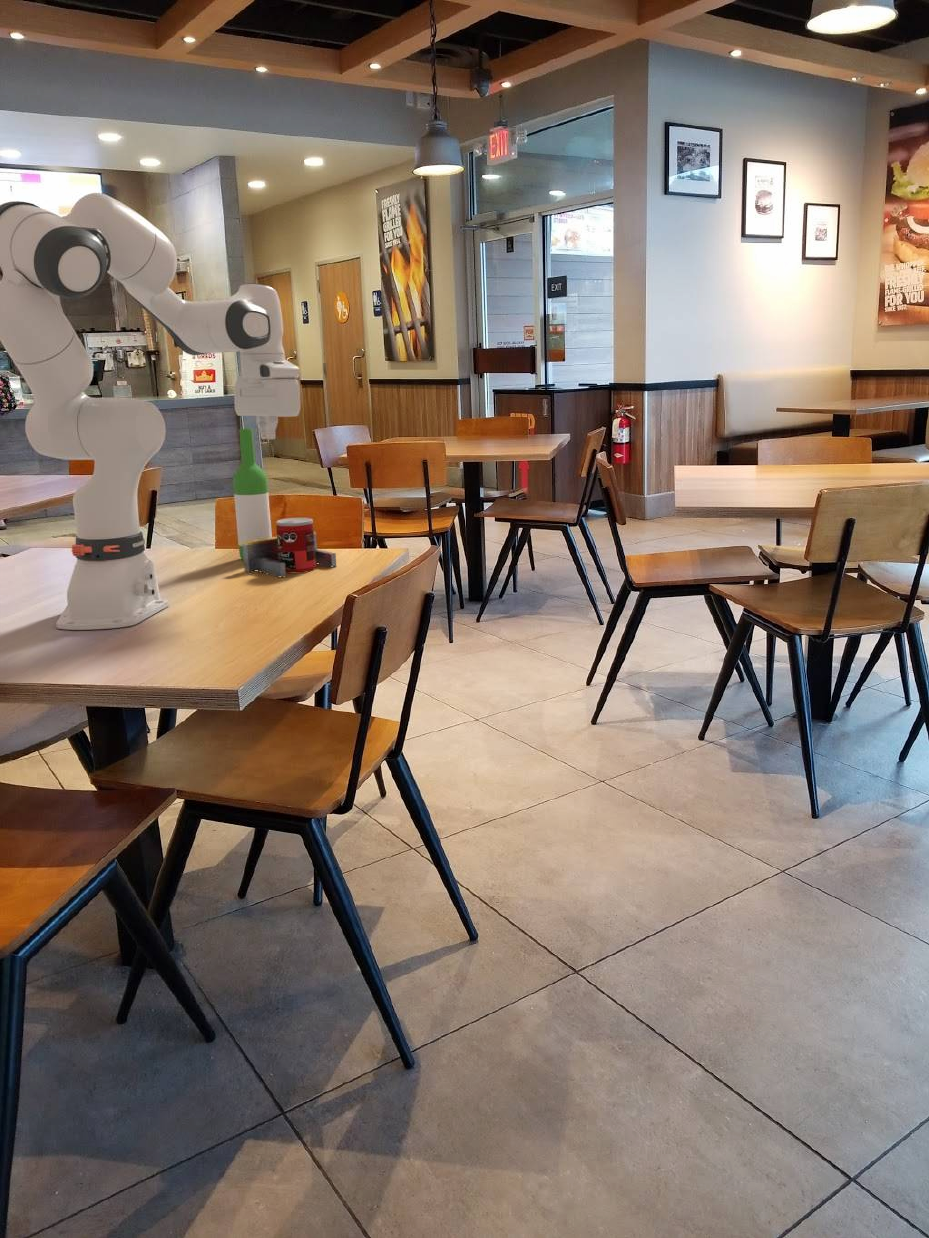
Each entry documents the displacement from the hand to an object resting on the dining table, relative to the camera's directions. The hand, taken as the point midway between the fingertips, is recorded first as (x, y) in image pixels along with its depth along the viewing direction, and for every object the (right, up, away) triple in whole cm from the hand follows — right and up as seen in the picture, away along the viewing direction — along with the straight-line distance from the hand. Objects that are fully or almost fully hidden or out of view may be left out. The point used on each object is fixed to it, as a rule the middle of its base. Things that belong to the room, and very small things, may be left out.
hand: (268, 439), depth 196 cm
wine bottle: (-9, -23, +28) cm, 38 cm away
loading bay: (+2, -26, +17) cm, 31 cm away
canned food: (+3, -26, +15) cm, 31 cm away
